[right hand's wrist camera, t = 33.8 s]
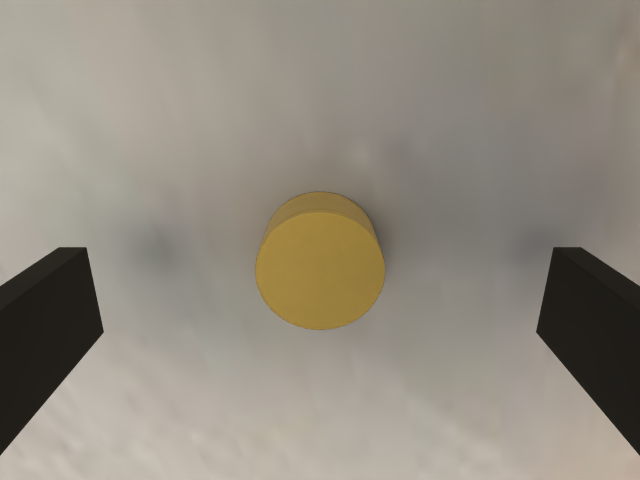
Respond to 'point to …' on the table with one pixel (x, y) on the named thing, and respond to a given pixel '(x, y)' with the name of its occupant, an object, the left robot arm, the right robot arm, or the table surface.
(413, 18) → the table surface
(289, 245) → the cap
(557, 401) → the table surface
